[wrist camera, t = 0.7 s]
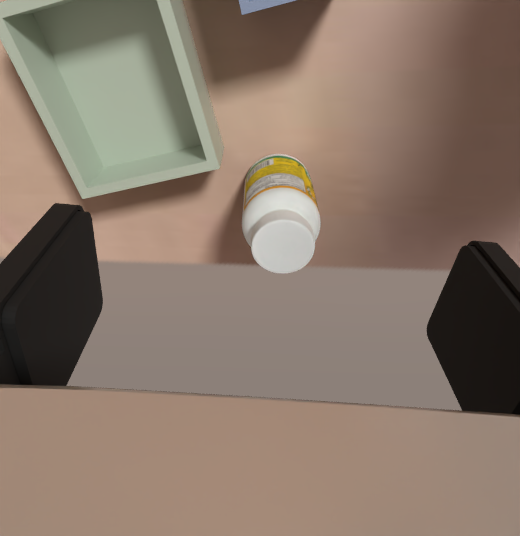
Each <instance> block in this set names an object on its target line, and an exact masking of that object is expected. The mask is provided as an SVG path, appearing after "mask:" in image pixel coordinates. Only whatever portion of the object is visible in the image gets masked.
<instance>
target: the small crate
mask: <svg viewBox="0 0 520 536" xmlns="http://www.w3.org/2000/svg"><path fill="white" fill-rule="evenodd" d="M292 1H296V0H239V4H240V8H241V13H242V15H244V14H247V13H251V12H255V11H258V10H262V9H266V8H270V7H273V6H277V5H281V4H284V3H288V2H292Z"/></svg>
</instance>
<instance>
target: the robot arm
mask: <svg viewBox="0 0 520 536" xmlns="http://www.w3.org/2000/svg"><path fill="white" fill-rule="evenodd" d="M102 304H103V298H102V290H101V283H100V276H99V269H98V261H97V254H96V247H95V239H94V232H93V225H92V218H91V215H90V213H89V212H84V210H83V208H82V207H81V206H80V205H70V204H59V203H55V204H54V205H53V206H52V207H51V208H50V209H49V210H48V211H47V212H46V213H45V215H44V216H43V217H42V218H41V219H40V220H39V221H38V222H37V223H36V225H35V226H34V227H33V228H32V229H31V230H30V231H29V232H28V233H27V235H26V236H25V237H24V238H23V239H22V240H21V241H20V242H19V243H18V245H17V246H16V247H15V248H14V249H13V250H12V251H11V252H10V253H9V255H8V256H7V257H6V258H5V259H4V260H3V261H2V262H1V264H0V536H520V268H519V267H518V265H517V264H516V263H515V262H514V261H513V260H512V259H511V258H510V257H509V255H508V254H507V253H506V252H505V251H504V250H503V249H502V248H501V246H500V245H499V244H497V243H493V242H482V241H471V242H470V243H469V244H468V245H467V246H463V247H462V248H461V249H460V251H459V253H458V255H457V258H456V260H455V262H454V265H453V267H452V269H451V271H450V274H449V276H448V278H447V281H446V283H445V285H444V287H443V290H442V292H441V294H440V297H439V299H438V301H437V304H436V306H435V308H434V310H433V313H432V315H431V317H430V320H429V322H428V325H427V336H428V339H429V341H430V343H431V345H432V347H433V349H434V351H435V353H436V355H437V358H438V360H439V362H440V364H441V366H442V368H443V370H444V372H445V375H446V377H447V379H448V381H449V383H450V385H451V387H452V390H453V391H454V394H455V396H456V398H457V400H458V402H459V404H460V406H461V409H462V411H459V410H445V409H431V408H417V407H402V406H388V405H373V404H358V403H341V402H327V401H312V400H296V399H280V398H263V397H249V396H232V395H215V394H197V393H180V392H164V391H163V392H162V391H147V390H128V389H112V388H95V387H94V388H93V387H76V386H66V385H67V383H68V381H69V379H70V377H71V374H72V372H73V370H74V368H75V366H76V364H77V362H78V360H79V357H80V355H81V353H82V351H83V349H84V347H85V345H86V343H87V341H88V338H89V336H90V334H91V332H92V330H93V327H94V326H95V324H96V321H97V319H98V317H99V315H100V312H101V310H102Z"/></svg>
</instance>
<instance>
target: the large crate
mask: <svg viewBox="0 0 520 536" xmlns="http://www.w3.org/2000/svg"><path fill="white" fill-rule="evenodd" d="M0 39H1V41H2V43H3V45H4V47H5V49H6V51H7V53H8V55H9V57H10V59H11V61H12V63H13V65H14V67H15V69H16V71H17V73H18V75H19V76H20V78H21V80H22V82H23V84H24V86H25V88H26V90H27V92H28V94H29V96H30V98H31V100H32V102H33V104H34V106H35V108H36V110H37V112H38V113H39V115H40V117H41V119H42V121H43V123H44V125H45V127H46V129H47V131H48V133H49V135H50V137H51V139H52V141H53V143H54V145H55V147H56V149H57V151H58V152H59V154H60V156H61V158H62V160H63V162H64V164H65V166H66V168H67V170H68V172H69V174H70V176H71V178H72V180H73V182H74V184H75V186H76V188H77V190H78V191H79V193H80V195H81V197H82V199H85V198H90V197H94V196H99V195H103V194H108V193H112V192H117V191H121V190H126V189H130V188H135V187H139V186H144V185H148V184H153V183H157V182H162V181H166V180H171V179H175V178H180V177H184V176H189V175H193V174H198V173H202V172H207V171H211V170H216V169H220V165H221V161H222V156H223V151H224V145H223V142H222V138H221V135H220V131H219V128H218V124H217V121H216V117H215V114H214V110H213V106H212V103H211V99H210V96H209V92H208V89H207V85H206V82H205V78H204V75H203V71H202V68H201V64H200V61H199V57H198V54H197V50H196V47H195V43H194V39H193V36H192V32H191V29H190V25H189V22H188V18H187V15H186V11H185V8H184V4H183V1H182V0H7V1H3V2H0Z"/></svg>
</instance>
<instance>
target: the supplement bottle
mask: <svg viewBox="0 0 520 536" xmlns="http://www.w3.org/2000/svg"><path fill="white" fill-rule="evenodd" d="M320 225H321V221H320V214H319V210H318V206H317V202H316V198H315V194H314V190H313V185H312V182H311V178H310V175H309V173H308V171H307V169H306V168H305V166H304V165H303V164H302V163H301V162H300V161H299V160H298V159H296V158H294V157H292V156H289V155H285V154H272V155H268V156H265V157H263V158H261V159H260V160H258V161H257V162H256V163H254V164H253V165H252V167H251V168H250V170H249V171H248V173H247V176H246V179H245V187H244V202H243V215H242V230H243V234H244V237H245V239H246V241H247V243H248V244H249V245H250V247H251V251H252V255H253V257H254V259H255V261H256V262H257V263H258V264H259V265H260V266H261V267H262V268H264V269H265V270H267V271H270V272H273V273H279V274H286V273H292V272H295V271H298V270H300V269H301V268H303V267H304V266H305V265H307V264H308V262H309V261H310V260H311V258H312V256H313V254H314V250H315V241H316V239H317V237H318V235H319V231H320Z"/></svg>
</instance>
